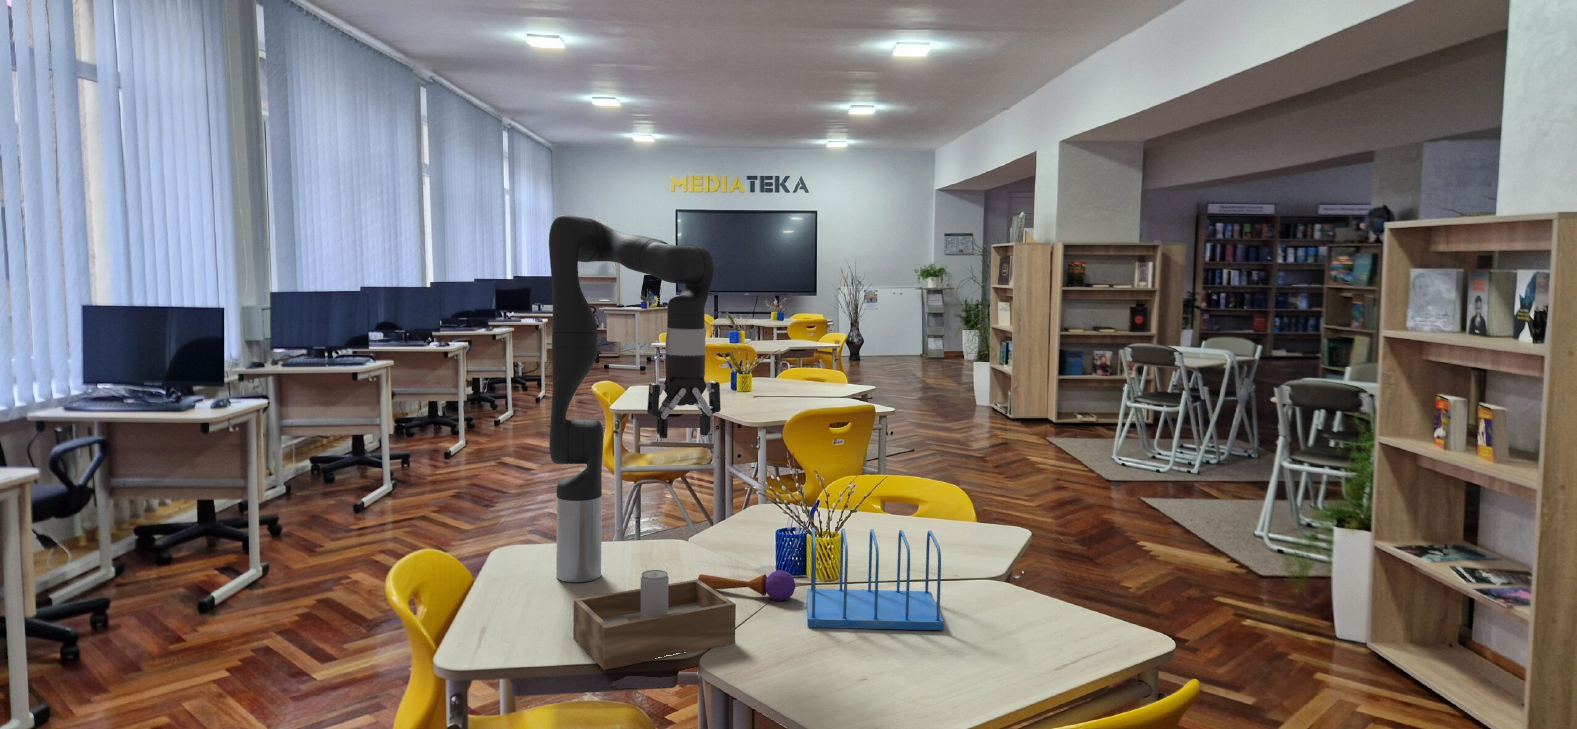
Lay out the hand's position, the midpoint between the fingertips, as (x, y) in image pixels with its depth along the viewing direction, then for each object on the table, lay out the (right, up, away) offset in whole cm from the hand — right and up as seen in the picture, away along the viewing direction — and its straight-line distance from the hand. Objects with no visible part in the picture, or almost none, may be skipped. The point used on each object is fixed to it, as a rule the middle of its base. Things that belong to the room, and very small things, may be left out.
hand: (684, 436), depth 179 cm
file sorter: (+36, -35, +1) cm, 50 cm away
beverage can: (-4, -35, -15) cm, 38 cm away
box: (-3, -35, -15) cm, 38 cm away
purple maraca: (+12, -33, +9) cm, 36 cm away
